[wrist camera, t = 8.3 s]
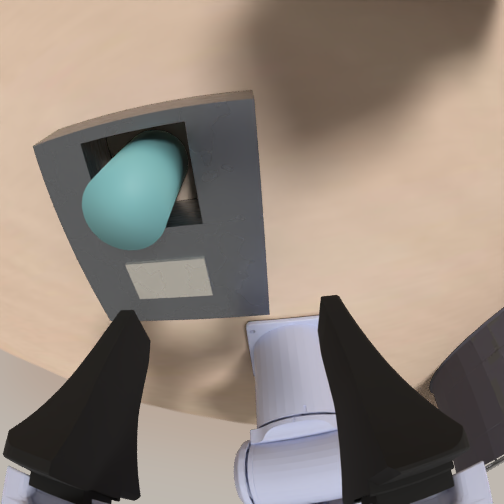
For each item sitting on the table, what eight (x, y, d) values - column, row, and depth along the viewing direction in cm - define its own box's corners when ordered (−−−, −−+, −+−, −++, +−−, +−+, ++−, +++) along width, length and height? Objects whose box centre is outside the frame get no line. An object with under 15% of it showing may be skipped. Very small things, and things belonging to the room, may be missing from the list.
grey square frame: (266, 284, 23) (269, 316, 21) (120, 293, 23) (110, 323, 21) (252, 90, 14) (254, 99, 12) (58, 129, 15) (30, 147, 12)
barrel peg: (192, 188, 18) (175, 247, 13) (132, 194, 18) (97, 252, 13) (183, 125, 16) (157, 163, 11) (118, 135, 16) (71, 177, 11)
